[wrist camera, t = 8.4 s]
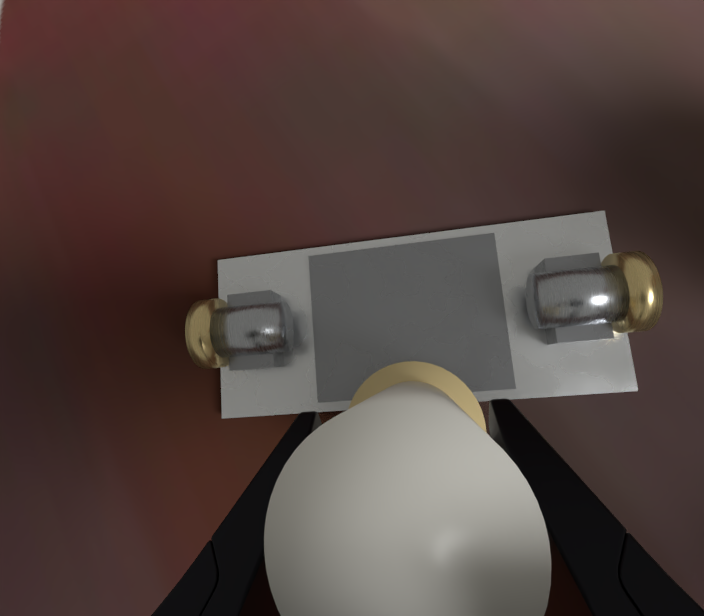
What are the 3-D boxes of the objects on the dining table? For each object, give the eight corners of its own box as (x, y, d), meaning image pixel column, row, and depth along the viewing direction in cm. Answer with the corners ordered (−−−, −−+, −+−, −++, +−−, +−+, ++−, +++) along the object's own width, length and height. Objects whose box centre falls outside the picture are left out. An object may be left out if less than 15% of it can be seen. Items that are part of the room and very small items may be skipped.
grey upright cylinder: (376, 516, 17) (281, 828, 6) (331, 388, 18) (171, 422, 7) (505, 471, 17) (703, 715, 5) (450, 342, 18) (507, 291, 6)
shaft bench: (599, 214, 21) (640, 179, 17) (631, 390, 20) (684, 395, 16) (222, 262, 25) (183, 241, 21) (226, 417, 23) (186, 427, 19)
